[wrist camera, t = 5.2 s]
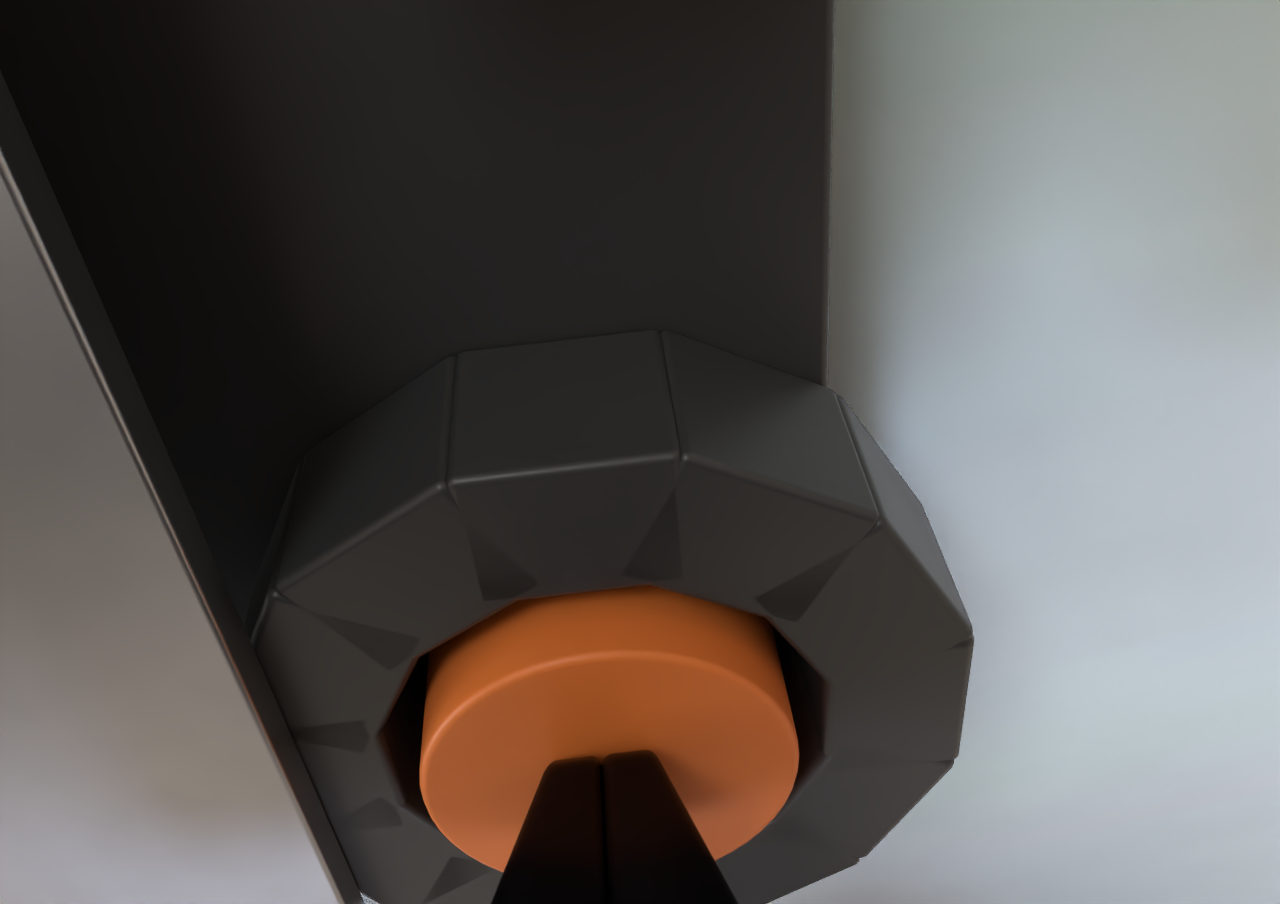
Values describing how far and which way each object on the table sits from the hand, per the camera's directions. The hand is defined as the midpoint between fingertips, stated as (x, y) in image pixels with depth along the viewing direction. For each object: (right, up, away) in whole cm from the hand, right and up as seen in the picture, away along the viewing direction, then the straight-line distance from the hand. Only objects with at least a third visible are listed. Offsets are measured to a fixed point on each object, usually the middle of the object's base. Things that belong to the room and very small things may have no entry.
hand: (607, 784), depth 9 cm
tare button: (0, +1, +1) cm, 2 cm away
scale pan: (-7, +5, -4) cm, 9 cm away
